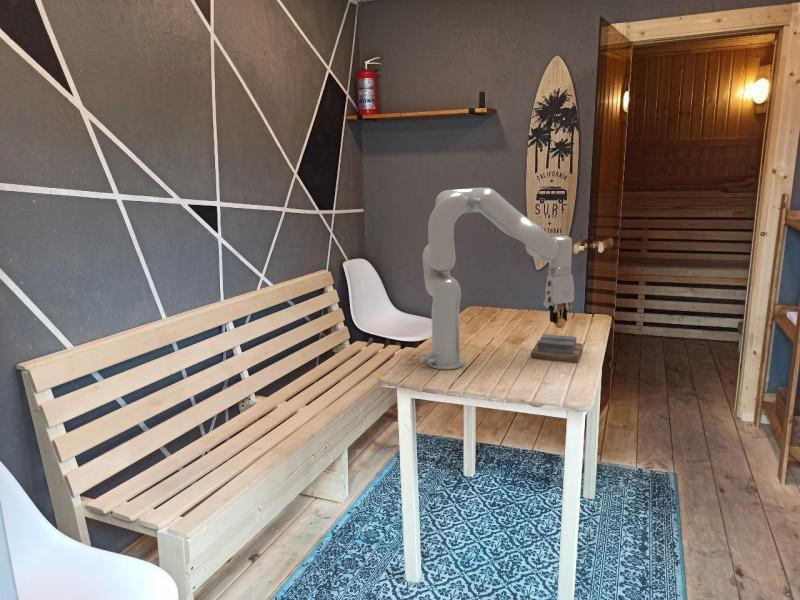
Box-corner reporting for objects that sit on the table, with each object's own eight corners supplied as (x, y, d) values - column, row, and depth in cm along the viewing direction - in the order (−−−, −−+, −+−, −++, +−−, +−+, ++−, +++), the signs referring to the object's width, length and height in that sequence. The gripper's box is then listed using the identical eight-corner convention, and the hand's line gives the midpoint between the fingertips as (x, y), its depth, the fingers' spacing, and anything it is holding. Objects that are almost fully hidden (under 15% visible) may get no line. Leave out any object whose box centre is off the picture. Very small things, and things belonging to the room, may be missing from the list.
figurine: (547, 329, 203) (546, 296, 200) (549, 324, 208) (549, 292, 205) (571, 329, 200) (570, 297, 197) (573, 325, 205) (572, 293, 202)
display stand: (577, 363, 195) (578, 348, 194) (530, 358, 202) (531, 343, 200) (581, 350, 210) (582, 335, 209) (538, 346, 216) (538, 332, 215)
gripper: (549, 275, 192) (548, 327, 196) (585, 270, 200) (582, 320, 204) (534, 272, 198) (533, 322, 202) (569, 267, 206) (567, 315, 210)
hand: (558, 320), depth 203 cm, fingers closed on figurine, 3 cm apart
